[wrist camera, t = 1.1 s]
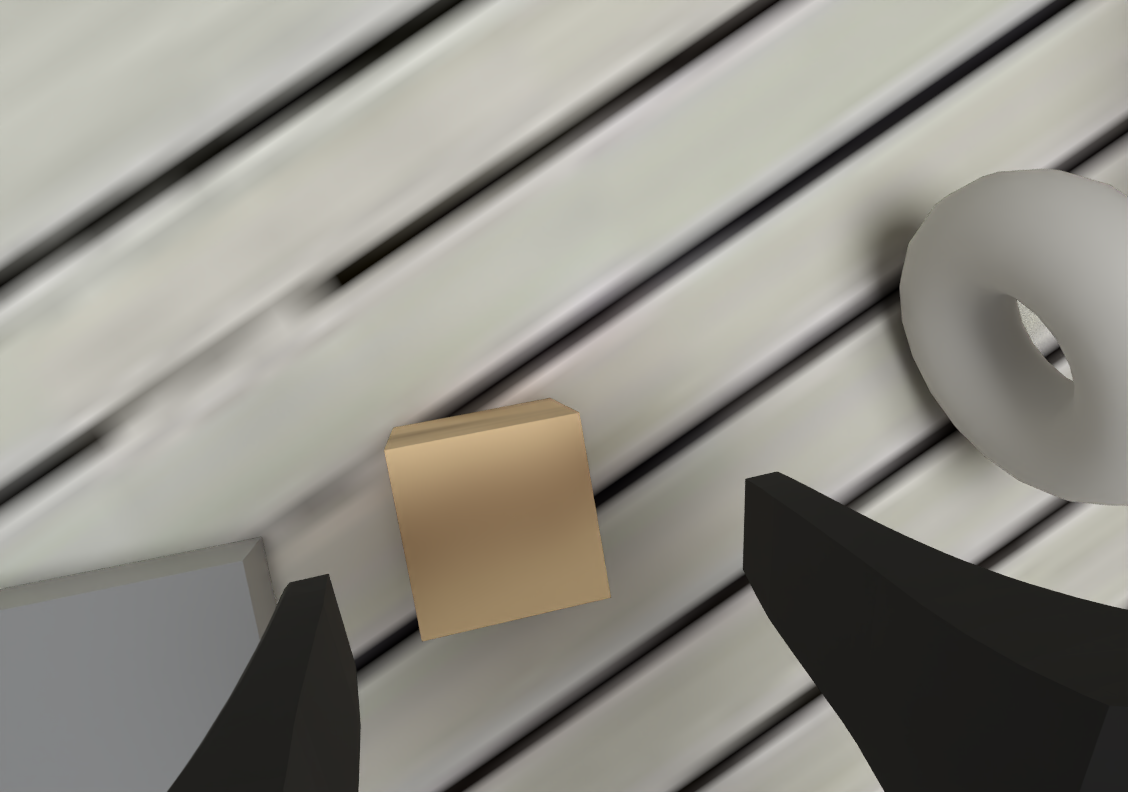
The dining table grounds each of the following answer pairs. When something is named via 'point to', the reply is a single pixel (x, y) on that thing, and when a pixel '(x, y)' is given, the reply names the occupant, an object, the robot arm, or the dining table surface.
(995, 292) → the donut
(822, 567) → the robot arm
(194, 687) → the slate block
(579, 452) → the oak cube
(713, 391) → the dining table surface
